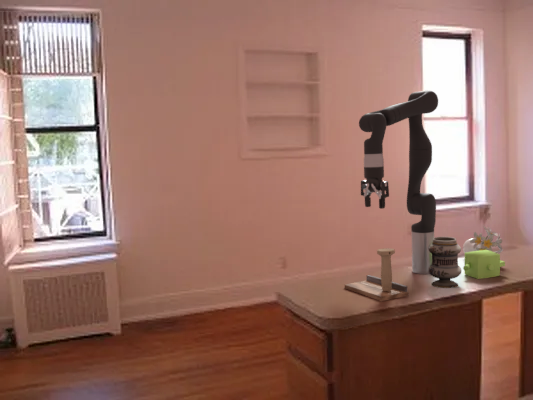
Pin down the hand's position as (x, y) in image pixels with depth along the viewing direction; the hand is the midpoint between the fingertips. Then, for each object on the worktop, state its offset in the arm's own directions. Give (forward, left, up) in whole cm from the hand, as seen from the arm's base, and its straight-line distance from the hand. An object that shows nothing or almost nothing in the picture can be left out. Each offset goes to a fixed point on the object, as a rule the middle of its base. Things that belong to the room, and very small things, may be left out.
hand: (374, 207), depth 217 cm
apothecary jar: (-19, +17, -30) cm, 40 cm away
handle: (+7, +15, -29) cm, 33 cm away
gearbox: (-40, +16, -30) cm, 53 cm away
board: (+8, +9, -30) cm, 32 cm away
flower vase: (-60, -2, -30) cm, 67 cm away
